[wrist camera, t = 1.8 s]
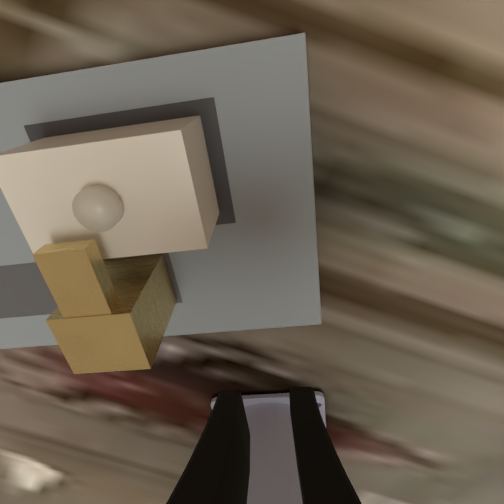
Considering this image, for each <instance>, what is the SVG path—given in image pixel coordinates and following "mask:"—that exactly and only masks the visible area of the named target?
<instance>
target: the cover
mask: <svg viewBox="0 0 504 504" xmlns="http://www.w3.org/2000/svg"><path fill="white" fill-rule="evenodd" d="M0 188H1V190H2V192H3V194H4V196H5V198H6V200H7V202H8V204H9V206H10V208H11V210H12V212H13V214H14V216H15V218H16V220H17V222H18V224H19V226H20V228H21V230H22V232H23V234H24V236H25V238H26V240H27V242H28V244H29V246H30V248H31V250H32V252H33V253H35V252H36V251H37V250H38V249H40V248H41V247H42V246H43V245H45V244H52V243H61V242H70V241H80V240H89V239H95V241H96V243H97V246H98V249H99V251H100V254H101V256H102V259H111V258H120V257H130V256H140V255H149V254H159V253H169V252H178V251H188V250H198V249H207V248H208V246H209V243H210V240H211V237H212V234H213V231H214V228H215V225H216V222H217V219H218V216H219V208H218V203H217V198H216V193H215V188H214V183H213V178H212V173H211V168H210V163H209V157H208V152H207V147H206V142H205V137H204V132H203V127H202V122H201V117H200V115H198V116H191V117H184V118H177V119H170V120H163V121H156V122H149V123H142V124H135V125H129V126H122V127H115V128H108V129H101V130H94V131H87V132H80V133H73V134H66V135H59V136H53V137H46V138H42V139H39V140H36V141H33V142H30V143H27V144H24V145H21V146H18V147H15V148H12V149H9V150H6V151H3V152H0Z"/></svg>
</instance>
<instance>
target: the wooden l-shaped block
mask: <svg viewBox="0 0 504 504" xmlns="http://www.w3.org/2000/svg"><path fill="white" fill-rule="evenodd" d="M32 256H33V258H34V260H35V262H36V264H37V266H38V268H39V270H40V272H41V274H42V276H43V278H44V280H45V282H46V284H47V286H48V288H49V290H50V292H51V294H52V296H53V298H54V300H55V302H56V304H57V306H58V307H57V308H56V309H55V310H54V311H53V313H52V314H51V315H50V316H49V317H48V318H47V319H46V322H47V324H48V326H49V328H50V330H51V332H52V333H53V335H54V337H55V339H56V341H57V343H58V345H59V347H60V348H61V350H62V352H63V354H64V356H65V358H66V360H67V362H68V363H69V365H70V367H71V369H72V371H73V373H74V374H81V373H96V372H110V371H125V370H140V369H151V367H152V364H153V362H154V359H155V357H156V354H157V352H158V349H159V346H160V344H161V341H162V339H163V336H164V333H165V331H166V328H167V326H168V323H169V321H170V318H171V315H172V313H173V310H174V308H175V305H176V302H177V299H176V296H175V292H174V289H173V286H172V282H171V279H170V276H169V272H168V269H167V265H166V262H165V259H164V255H163V253H162V254H153V255H143V256H133V257H124V258H114V259H104V260H103V259H102V256H101V254H100V251H99V249H98V246H97V243H96V241H95V239H89V240H80V241H70V242H61V243H52V244H45V245H43V246H42V247H41V248H40V249H38V250H37V251H36V252H35V253H33V254H32Z"/></svg>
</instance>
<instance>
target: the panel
mask: <svg viewBox="0 0 504 504" xmlns="http://www.w3.org/2000/svg"><path fill="white" fill-rule="evenodd" d="M198 115H200V117H201V122H202V127H203V132H204V137H205V142H206V147H207V152H208V157H209V163H210V168H211V173H212V178H213V183H214V188H215V193H216V198H217V203H218V208H219V216H218V219H217V222H216V225H215V228H214V231H213V234H212V237H211V240H210V243H209V246H208V248H207V249H198V250H188V251H178V252H169V253H163V255H164V259H165V262H166V265H167V269H168V272H169V276H170V279H171V282H172V286H173V289H174V292H175V296H176V299H177V302H176V305H175V308H174V310H173V313H172V315H171V318H170V321H169V323H168V326H167V328H166V331H165V333H164V336H174V335H187V334H200V333H213V332H226V331H239V330H252V329H265V328H277V327H290V326H303V325H316V324H322V323H321V305H320V287H319V269H318V251H317V234H316V216H315V198H314V180H313V162H312V144H311V126H310V109H309V91H308V73H307V55H306V37H305V33H300V34H294V35H288V36H282V37H276V38H270V39H264V40H258V41H252V42H246V43H239V44H233V45H227V46H221V47H215V48H209V49H203V50H197V51H191V52H185V53H179V54H173V55H167V56H161V57H155V58H149V59H142V60H136V61H130V62H124V63H118V64H112V65H106V66H100V67H94V68H88V69H82V70H76V71H70V72H64V73H58V74H51V75H45V76H39V77H33V78H27V79H21V80H15V81H9V82H3V83H0V152H3V151H6V150H9V149H12V148H15V147H18V146H21V145H24V144H27V143H30V142H33V141H36V140H39V139H42V138H46V137H53V136H59V135H66V134H73V133H80V132H87V131H94V130H101V129H108V128H115V127H122V126H129V125H135V124H142V123H149V122H156V121H163V120H170V119H177V118H184V117H191V116H198ZM32 254H33V252H32V250H31V248H30V246H29V244H28V242H27V240H26V238H25V236H24V234H23V232H22V230H21V228H20V226H19V224H18V222H17V220H16V218H15V216H14V214H13V212H12V210H11V208H10V206H9V204H8V202H7V200H6V198H5V196H4V194H3V192H2V190H1V188H0V349H6V348H19V347H32V346H45V345H58V343H57V341H56V339H55V337H54V335H53V333H52V332H51V330H50V328H49V326H48V324H47V322H46V319H47V318H48V317H49V316H50V315H51V314H52V313H53V311H54V310H55V309H56V308H57V307H58V306H57V304H56V302H55V300H54V298H53V296H52V294H51V292H50V290H49V288H48V286H47V284H46V282H45V280H44V278H43V276H42V274H41V272H40V270H39V268H38V266H37V264H36V262H35V260H34V258H33V256H32ZM159 254H162V253H159ZM149 255H153V254H149ZM140 256H143V255H140ZM130 257H133V256H130ZM120 258H124V257H120ZM111 259H114V258H111ZM103 260H104V259H103Z"/></svg>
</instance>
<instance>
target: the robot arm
mask: <svg viewBox="0 0 504 504" xmlns="http://www.w3.org/2000/svg"><path fill="white" fill-rule="evenodd" d="M211 408H212V412H211V414H210V417H209V419H208V421H207V424H206V426H205V428H204V430H203V433H202V435H201V437H200V439H199V441H198V444H197V446H196V448H195V450H194V452H193V454H192V456H191V458H190V460H189V462H188V464H187V466H186V468H185V470H184V472H183V474H182V476H181V478H180V479H179V481H178V483H177V485H176V487H175V489H174V490H173V492H172V494H171V496H170V498H169V500H168V501H167V503H166V504H361V502H360V500H359V498H358V496H357V494H356V492H355V490H354V488H353V486H352V484H351V482H350V480H349V478H348V476H347V474H346V472H345V470H344V468H343V466H342V464H341V462H340V459H339V457H338V455H337V453H336V451H335V449H334V446H333V444H332V442H331V439H330V437H329V435H328V432H327V430H326V417H325V400H324V395H323V393H322V392H319V391H314V389H312V388H311V387H299V388H289V393H277V394H259V395H241V391H231V392H220V393H219V394H218V396H217V397H214V398H213V399H212V400H211Z"/></svg>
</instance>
